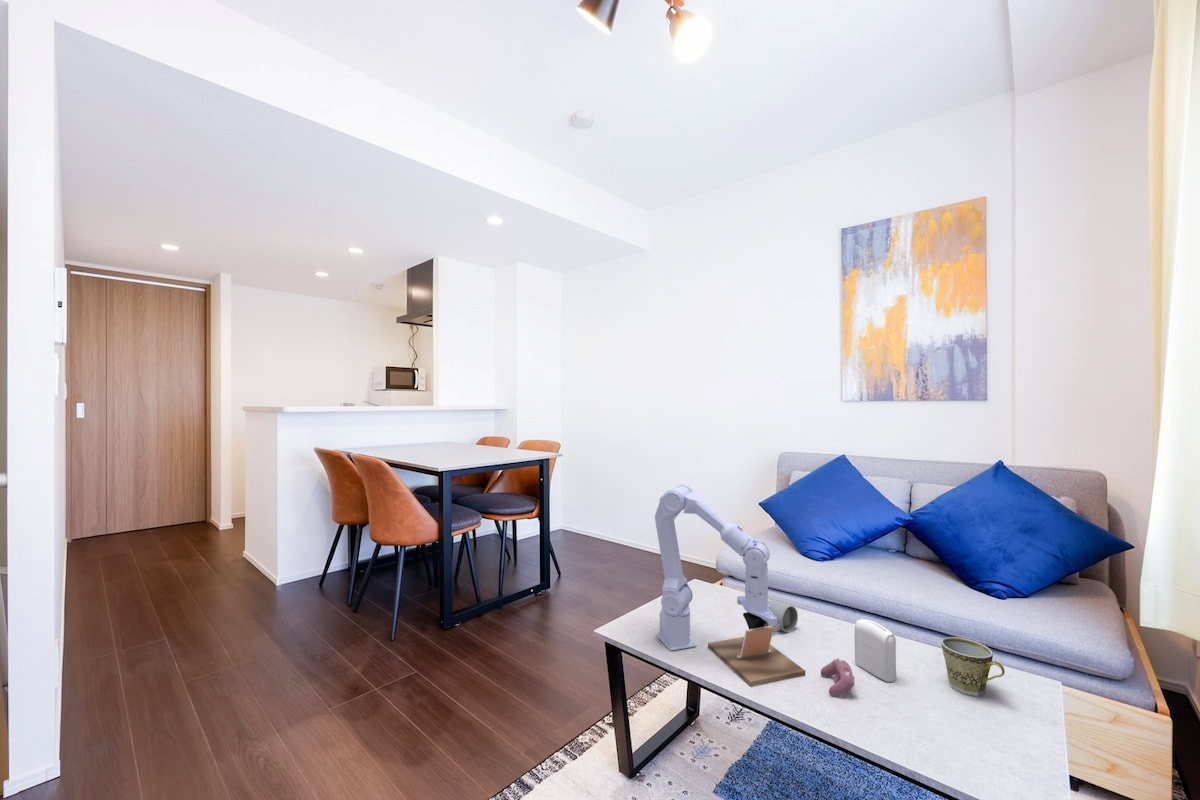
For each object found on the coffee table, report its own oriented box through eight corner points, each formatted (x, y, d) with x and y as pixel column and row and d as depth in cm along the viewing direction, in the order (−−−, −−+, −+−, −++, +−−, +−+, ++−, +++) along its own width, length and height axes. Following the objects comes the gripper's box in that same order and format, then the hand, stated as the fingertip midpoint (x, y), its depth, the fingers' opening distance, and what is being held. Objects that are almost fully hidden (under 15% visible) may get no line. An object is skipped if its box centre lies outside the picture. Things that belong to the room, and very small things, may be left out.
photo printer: (851, 663, 132) (851, 616, 132) (864, 660, 134) (864, 613, 133) (886, 684, 122) (886, 633, 122) (899, 680, 124) (899, 630, 124)
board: (707, 647, 140) (707, 642, 140) (756, 638, 145) (756, 634, 145) (750, 686, 121) (750, 681, 121) (805, 675, 126) (805, 670, 126)
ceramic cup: (931, 682, 123) (932, 641, 123) (957, 673, 127) (958, 633, 127) (990, 712, 111) (990, 667, 111) (1017, 702, 115) (1017, 658, 115)
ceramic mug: (775, 618, 158) (775, 594, 158) (798, 628, 151) (798, 603, 151) (753, 628, 152) (753, 602, 152) (776, 639, 146) (775, 612, 145)
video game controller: (846, 705, 116) (861, 680, 116) (827, 695, 117) (842, 669, 116) (835, 682, 126) (849, 658, 125) (818, 672, 127) (831, 648, 126)
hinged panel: (742, 630, 130) (743, 632, 129) (775, 624, 133) (777, 627, 132) (736, 657, 132) (737, 659, 131) (769, 651, 135) (770, 653, 135)
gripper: (787, 598, 127) (787, 652, 127) (752, 578, 140) (752, 626, 141) (763, 602, 124) (763, 656, 125) (730, 581, 138) (730, 630, 138)
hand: (756, 641), depth 132 cm, fingers closed, pressing on hinged panel
